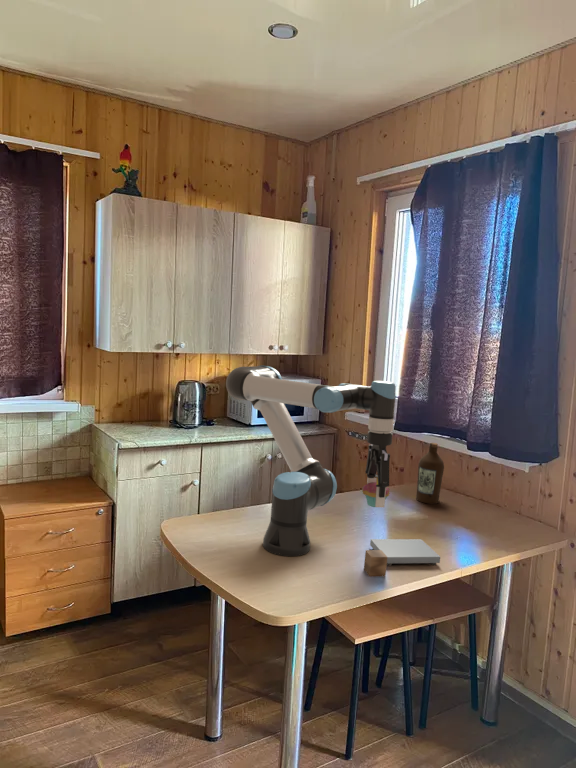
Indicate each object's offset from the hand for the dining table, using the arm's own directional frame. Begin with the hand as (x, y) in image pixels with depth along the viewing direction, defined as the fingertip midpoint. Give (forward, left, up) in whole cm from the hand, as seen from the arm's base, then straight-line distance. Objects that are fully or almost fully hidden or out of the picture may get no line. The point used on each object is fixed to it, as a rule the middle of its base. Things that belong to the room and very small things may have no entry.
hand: (375, 502), depth 183 cm
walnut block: (-2, -11, -18) cm, 21 cm away
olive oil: (+47, +57, -18) cm, 76 cm away
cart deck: (+12, 0, -18) cm, 21 cm away
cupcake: (0, 0, -1) cm, 1 cm away
